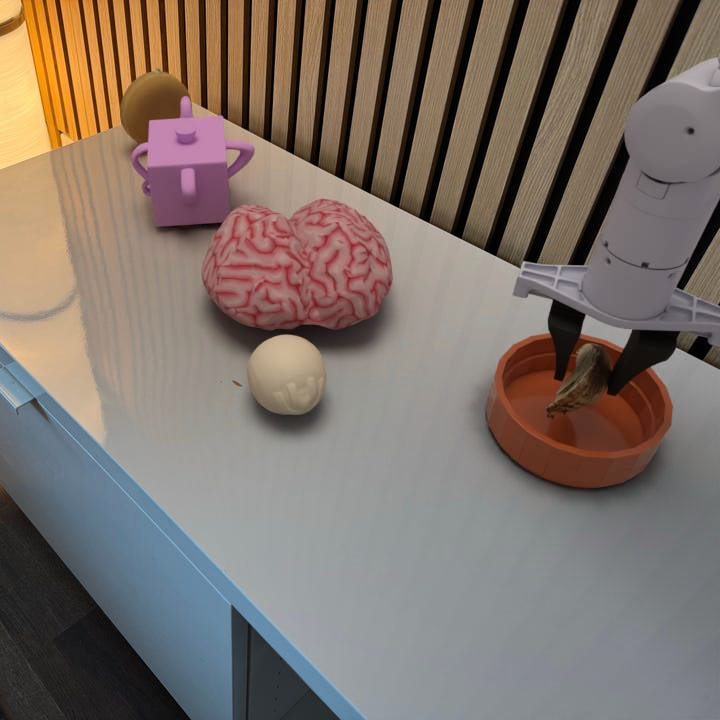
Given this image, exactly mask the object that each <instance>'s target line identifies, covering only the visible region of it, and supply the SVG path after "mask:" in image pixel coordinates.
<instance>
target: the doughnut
mask: <svg viewBox="0 0 720 720" xmlns="http://www.w3.org/2000/svg"><path fill="white" fill-rule="evenodd" d="M184 96H187V97H189V98H190V101H191V108H192V109H193V104H192V102H193V101H192V98H191V94H190V92H189V90H188V89H187V87H186V86H185V85H184V84H183V83H182V82H181V81H180V80H179V79H178V78H177V77H176V76H175V75H173V74H171V73H169V72H166V71H161V67H156V68H155V69H154V70H153V71H150V72H146V73H144V74H142V75H139V76H138V77H136V78H135V79H134V80H133V81H132V82H131V83H130V84H129V85H128V87H127V88H126V90H125V92H124V94H123V96H122V98H121V101H120V106H119V117H120V122H121V125H122V128H123V129H124V131H125V133H126V134H127V135H128V136H129V137H130V139H132V140H134V141H135V142H136V143H138V145H140V144H143V143H147V142H148V136H149V121H150V120H163V119H178V118H180V112H181V104H180V103H181V99H182V98H183V97H184Z"/></svg>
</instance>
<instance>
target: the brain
mask: <svg viewBox="0 0 720 720" xmlns="http://www.w3.org/2000/svg"><path fill="white" fill-rule="evenodd" d="M391 260H392V259H391V254H390V251H389V247H388V245H387V242H386V240H385V238H384V237H383V235H382V234H381V232H380V230H378V228H377V227H376V226H375V225H374V224H373V223H372V222H371V221H369V219H367V217H366V216H365V215H363V214H361V213H359V212H358V210H357V209H356V208H353V207H351V206H350V205H348V204H346V203H343V202H340V201H338V200H334V199H327V198H319V199H316V200H314V201H312V202H310V203H308V204H306V205H303V206H301V207H300V208H299V209H296V211H295V212H294V213H293V214H292V216H290V218H289V219H288V217H286V216H285V215H284V214H282V213H280V212H277V211H274V210H271V209H270V208H268V207H267V206H262V205H259V204H242V205H239V206H237V207H235V208H234V209H232V211H230V213H229V215H228V216H227V217H226V218H225V220H224V222H221V225H220V227H219V228H218V229H217V230H216V233H215V234H214V235H213V237H212V239H211V241H210V244H209V246H208V250H207V252H206V254H205V257H204V259H203V261H202V265H201V279H202V280H201V281H202V283H203V286H204V288H205V291H206V293H207V295H208V296H209V297H210V298H211V300H212V301H213V302H214V303H215V304H216V305H217V307H218V308H219V309H220V310H221V311H222V312H223V313H225V314H226V315H227V316H228V317H229V318H231V319H232V320H234V321H236V322H238V323H239V324H242V325H245V326H246V327H251V328H259V329H261V330H265V331H275V330H280V329H281V330H294V329H295V328H298V327H299V326H301V325H316V326H321V327H324V328H327V329H331V330H343V329H346V328H348V327H350V326H351V327H352V326H354V325H356V324H358V323H360V322H362V321H364V320H368V319H370V318H371V317H372V318H373V316H375V315H377V313H378V312H379V309H380V307H381V304H382V302H383V301H384V299H385V298H386V296H388V294H389V292H390V290H391V288H392V284H393V277H394V276H393V275H394V274H393V266H392V261H391Z"/></svg>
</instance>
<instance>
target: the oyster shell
mask: <svg viewBox="0 0 720 720" xmlns="http://www.w3.org/2000/svg"><path fill="white" fill-rule="evenodd" d="M576 354H577V355H578V356H577V359H576V368H575V369H574V370H573V372H572V374H571V375H570V376H569V377H568V378H567V379H566V380H565V381H564V382H563V384H562V385H561V387H560V388H559V390H558V391H557V393H556V399H555V401H554V403H553V404H550V405H548V406H547V407H546V410H545V411H546V412H547V413H548V414H547V417H548V418H549V417H550V419H553V418H554V415H551V412H561V413H563V414H566V412H570V411H574V410H578V409H580V408H582V407H584V406H586V405H591V404H593V403H595V402H596V401H598V400H599V399H600V398H601V396H602V395H603V394H604V393H605V391H606V389H607V387H608V384H609V381H610V376H611V372H612V361H611V358H610V357H609V355H608V354H607V352H606V350H605V348H603V347H602V346H600V345H597V344H593V343H589V344H585V345H583V346H582V347H581V348H580V349H579V350H578V351H577V352H576ZM549 414H550V415H549Z"/></svg>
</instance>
